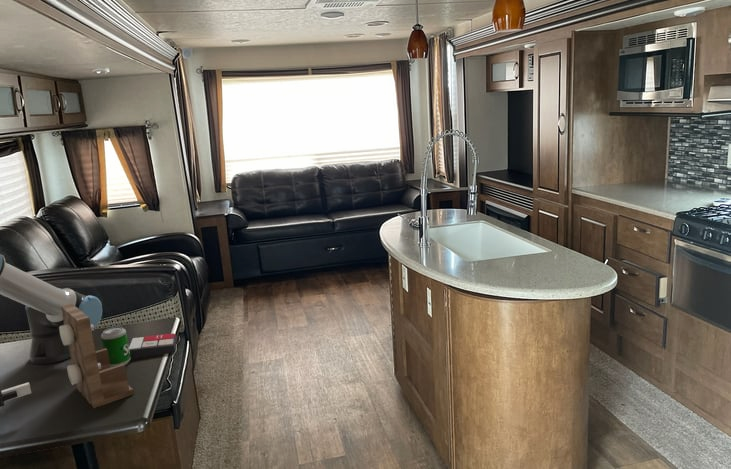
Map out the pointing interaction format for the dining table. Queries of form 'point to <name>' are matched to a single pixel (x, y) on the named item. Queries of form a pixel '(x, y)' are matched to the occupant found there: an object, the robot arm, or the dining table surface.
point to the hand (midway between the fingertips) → (29, 387)
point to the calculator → (152, 345)
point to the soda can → (116, 345)
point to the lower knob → (76, 373)
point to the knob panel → (94, 363)
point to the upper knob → (68, 334)
